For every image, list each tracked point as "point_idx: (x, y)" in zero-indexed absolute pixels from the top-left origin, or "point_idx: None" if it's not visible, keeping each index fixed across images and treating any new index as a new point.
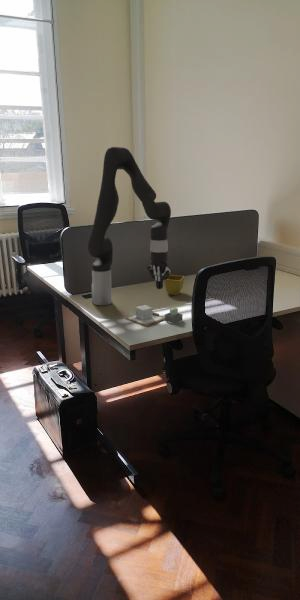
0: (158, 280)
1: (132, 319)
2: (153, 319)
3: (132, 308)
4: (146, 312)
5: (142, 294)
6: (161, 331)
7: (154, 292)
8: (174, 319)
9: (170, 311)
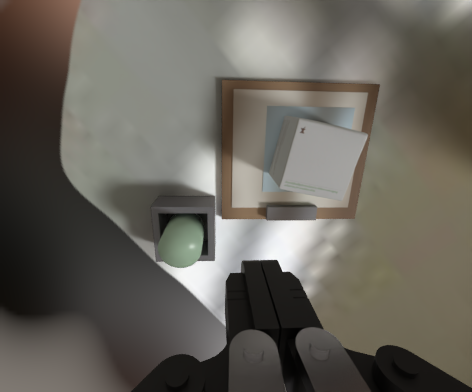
0: (263, 338)
1: (334, 92)
2: (253, 163)
3: (417, 210)
4: (286, 142)
5: (460, 340)
6: (134, 83)
7: None
8: (154, 203)
9: (186, 226)
